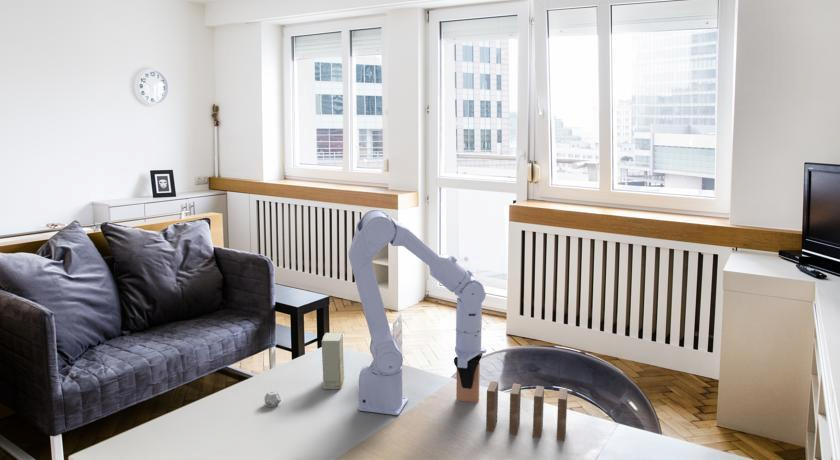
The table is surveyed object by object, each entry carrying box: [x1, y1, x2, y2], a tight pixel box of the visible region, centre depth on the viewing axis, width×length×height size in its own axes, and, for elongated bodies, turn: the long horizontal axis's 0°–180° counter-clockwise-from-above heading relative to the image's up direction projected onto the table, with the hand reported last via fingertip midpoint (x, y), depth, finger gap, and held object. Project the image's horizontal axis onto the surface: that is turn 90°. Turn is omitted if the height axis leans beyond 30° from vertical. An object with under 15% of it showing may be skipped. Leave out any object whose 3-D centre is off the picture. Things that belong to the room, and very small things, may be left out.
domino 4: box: [556, 387, 568, 442], centre depth 136 cm, size 2×5×9 cm, turn 165°
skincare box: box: [321, 332, 345, 390], centre depth 160 cm, size 6×4×12 cm
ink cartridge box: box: [388, 313, 403, 355], centre depth 167 cm, size 9×5×15 cm, turn 168°
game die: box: [263, 390, 282, 408], centre depth 150 cm, size 4×4×3 cm
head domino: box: [455, 362, 481, 404], centre depth 152 cm, size 2×5×9 cm, turn 75°
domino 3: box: [532, 385, 545, 439], centre depth 137 cm, size 2×5×9 cm, turn 165°
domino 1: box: [485, 380, 499, 433], centre depth 140 cm, size 2×5×9 cm, turn 165°
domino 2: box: [508, 382, 522, 436], centre depth 139 cm, size 2×5×9 cm, turn 165°
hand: (467, 385), depth 152 cm, fingers closed on head domino, 2 cm apart
